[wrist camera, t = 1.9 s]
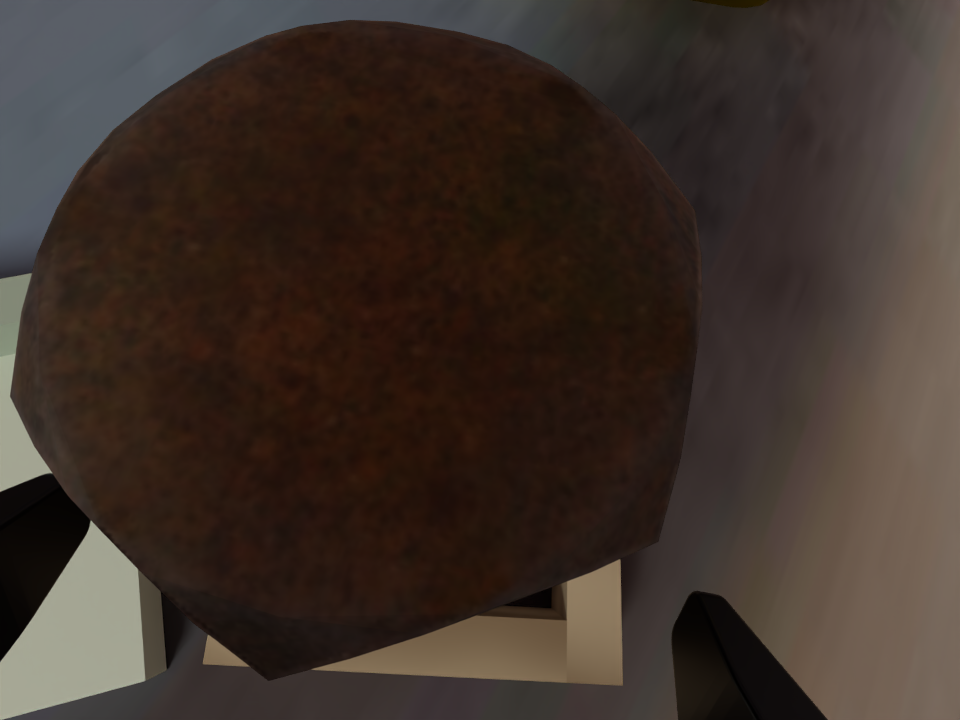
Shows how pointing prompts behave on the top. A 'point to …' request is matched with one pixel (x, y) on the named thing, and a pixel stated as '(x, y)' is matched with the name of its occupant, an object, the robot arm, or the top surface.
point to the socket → (509, 641)
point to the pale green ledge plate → (71, 584)
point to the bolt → (364, 338)
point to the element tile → (735, 2)
